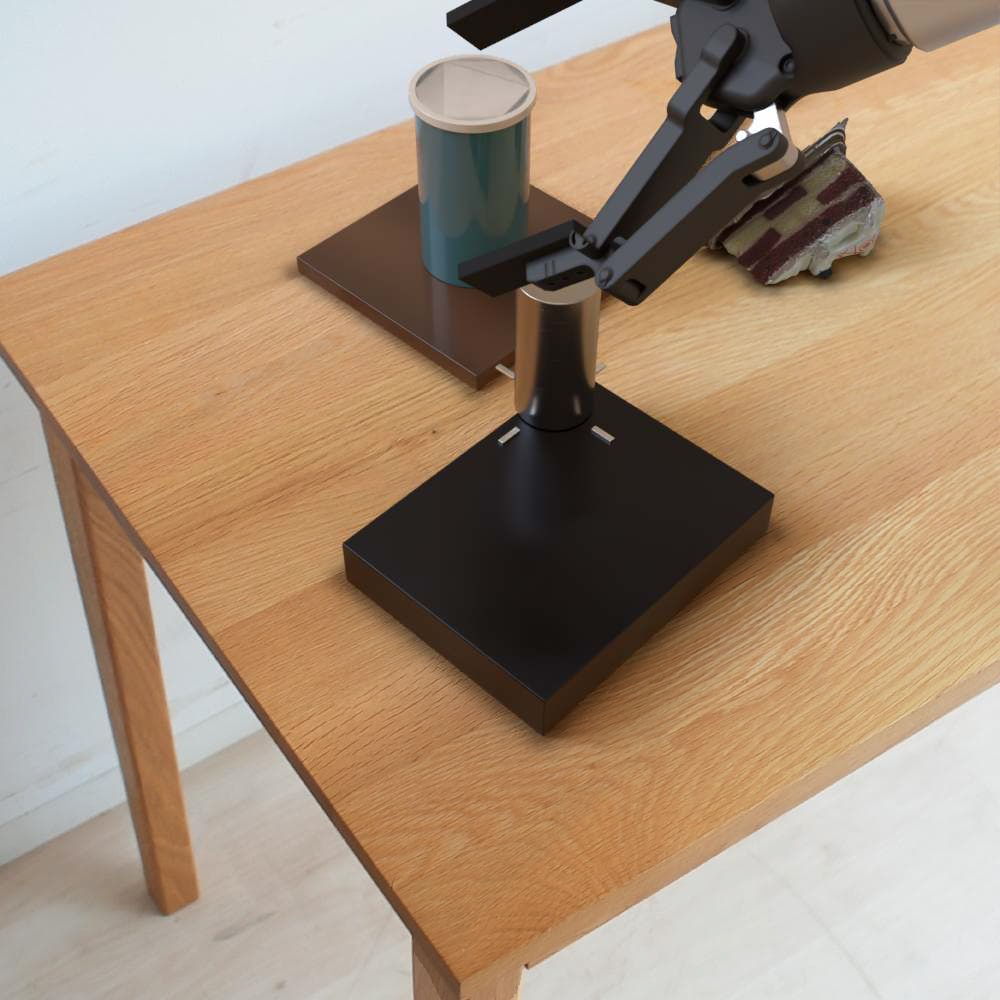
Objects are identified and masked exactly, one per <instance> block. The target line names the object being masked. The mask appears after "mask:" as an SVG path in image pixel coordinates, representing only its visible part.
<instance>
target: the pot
mask: <svg viewBox="0 0 1000 1000" xmlns="http://www.w3.org/2000/svg"><path fill="white" fill-rule="evenodd" d="M407 93H408V94H407V95H408V103H409V106H410V108H411V110H412V111H413V113H414V129H415V130H414V131H415V148H416V149H415V151H416V170H417V171H416V172H417V184H418V194H419V215H420V236H421V255H422V261H423V263H424V265H425V267H426V268H427V270H428V271H429V272H430V273H431V274H432V275H433V276H435V277H436V278H437V279H439V280H441V281H443V282H445V283H448V284H451V285H454V286H459V287H466V288H474V287H472V286H470V285H468V284H466V283H464V282H462V281H460V280H458V268H457V264H460V263H462V262H465V261H468V260H470V259H473V258H475V257H478V256H480V255H483V254H485V253H488V252H491V251H493V250H496V249H498V248H501V247H503V246H506V245H508V244H511V243H514V242H516V241H519V240H521V239H524V238H526V237H529V193H530V184H531V143H532V142H531V141H532V140H531V137H532V111H534V108H535V106H536V104H537V99H538V98H537V97H538V87H537V82H536V81H535V78H534V77H533V75H532V74H531V73H530V72H529V71H528V70H527V69H525V67H523V66H522V65H520V64H518V63H517V62H514V61H512V60H509V59H507V58H503V57H499V56H495V55H490V54H482V53H480V54H479V53H470V54H469V53H468V54H467V53H465V54H457V55H451V56H447V57H443V58H440V59H437V60H434V61H432V62H430V63H428V64H425V65H424V66H423V67H422V68H420V69H419V70H418V71H416V73H415V74H414V75H413V77H412V78H411V79H410V81H409V84H408V88H407Z"/></svg>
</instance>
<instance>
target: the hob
mask: <svg viewBox="0 0 1000 1000" xmlns="http://www.w3.org/2000/svg"><path fill="white" fill-rule="evenodd" d="M607 366H608V365H607V364H606V363H604V361H601V362H600V363H599V364H598V365H597V364H596V374H595V376H596V375H598V374H599V373H601V372H602V371H603V370H605V369H606V368H607ZM496 369H497V370H499V371H500V372H502V373H501V374H503V375H505V376H506V377H508V378H509V379H511V380H513V381H514V377H515V371H513V370H511V369H509V368H506V367H504V366H503V365H501V364H499V365H497V366H496ZM775 498H776V494H775V493H773V492H772V491H770V490H769V489H767V488H765V487H764V486H762V485H761V484H759V483H758V482H756V481H754V480H753V479H752V478H750V477H748V476H747V475H745V474H743V473H741V472H740V471H739V470H737V469H736V468H735V467H732V466H730V465H729V464H728V463H726V462H724V461H723V460H721V459H719V458H718V457H716V456H715V455H713V454H712V453H710V452H708V451H707V450H705V449H704V448H702V447H700V446H699V445H697V444H695V443H694V442H693V441H691V440H689V439H688V438H686V437H684V436H683V435H681V434H680V433H678V432H677V431H675V430H673V429H672V428H670V427H669V426H667V425H665V423H662V422H661V421H659V420H658V419H656V418H655V417H653V416H651V415H650V414H648V413H647V412H646V411H643V410H642V409H640V408H639V407H637V406H636V405H634V404H633V403H631V402H629V401H627V400H626V399H624V398H622V397H621V396H620V395H618V394H617V393H615V392H613V391H611V390H610V389H609V388H607V387H605V386H603V385H602V384H600V383H599V382H597V381H596V380H595V389H594V403H593V409H592V412H591V413H590V415H589V416H588V418H587V419H586V420H585V421H583V422H582V423H581V424H579V425H577V426H575V427H572V428H569V429H565V430H545V429H540V428H537V427H535V426H532V425H530V424H529V423H527V422H526V421H524V420H523V419H522V418H521V417H520V416H519V414H518V413H517V412H516V413H515V414H514V415H512V416H511V417H510V418H509V419H507V420H506V421H505V422H503V423H502V424H501V425H498V426H497V428H495V429H494V430H492V431H491V432H489V433H488V434H487V435H486V436H484V437H482V438H481V439H480V440H478V442H476V443H475V444H474V445H472V446H471V447H469V448H467V450H465V451H464V452H462V453H461V454H460V455H459V456H457V457H456V458H455V459H453V460H452V461H451V462H449V463H448V464H447V465H445V466H444V467H443V468H441V469H439V471H437V472H436V473H435V474H433V475H431V476H430V477H429V478H427V480H425V481H424V482H422V483H421V484H419V486H417V487H416V488H414V489H413V490H412V491H410V492H409V493H408V494H406V495H405V496H403V497H402V498H401V499H399V500H398V501H397V502H396V503H394V504H393V505H392V506H390V507H389V508H387V509H386V510H385V511H383V512H382V513H380V514H379V515H378V516H377V517H375V518H374V519H373V520H371V521H369V522H368V524H365V526H363V527H361V528H360V529H359V530H358V531H357V532H355V533H354V534H353V535H351V536H350V537H349V538H347V539H346V540H345V541H343V542H342V544H341V546H342V556H343V561H344V562H343V563H344V571H345V580H346V581H347V582H348V583H350V584H351V585H352V586H353V587H354V588H355V589H357V590H358V591H360V592H361V593H362V594H364V595H365V596H366V597H367V598H368V599H370V600H371V601H372V602H374V603H375V604H376V605H377V606H379V607H380V608H381V609H382V610H384V611H385V612H386V613H387V614H388V615H390V616H391V617H392V618H394V620H396V621H398V622H399V623H400V624H401V625H403V626H404V627H405V628H406V629H407V630H409V631H410V632H412V633H413V634H414V635H415V636H416V637H418V639H420V640H421V641H422V642H424V643H425V644H426V645H428V646H429V647H430V648H431V649H432V650H434V652H436V653H438V654H439V655H440V656H442V657H443V658H444V659H445V660H446V661H447V662H449V663H450V664H452V666H454V667H455V668H456V669H458V670H459V671H460V672H462V673H463V674H464V675H465V676H466V677H467V678H469V679H470V680H471V681H472V682H474V683H475V684H476V685H477V686H479V687H480V688H482V689H483V690H484V691H485V692H487V694H489V695H490V696H492V697H493V698H494V699H495V700H497V701H498V702H499V703H500V704H502V705H503V706H504V707H505V708H507V709H508V710H509V711H510V712H511V713H513V714H514V715H515V716H517V717H518V718H519V719H521V720H522V721H523V722H524V723H525V724H527V725H528V726H529V727H531V728H532V729H533V730H534V731H535V732H537V733H538V734H539V735H541V736H542V737H544V736H546V734H547V733H548V732H550V731H551V730H552V729H553V728H554V727H555V726H556V725H557V724H559V723H560V722H561V721H562V720H563V719H564V718H565V717H566V716H567V715H568V714H570V712H571V711H573V710H574V709H575V708H576V707H577V706H578V705H579V704H580V703H581V702H583V701H584V699H586V698H587V697H588V696H589V695H590V694H591V693H593V691H595V690H596V689H597V688H598V687H599V686H600V685H602V683H603V682H604V681H605V680H607V679H608V678H609V677H610V676H611V675H612V674H613V673H615V671H617V670H618V669H619V668H620V667H621V666H622V665H623V664H624V663H625V662H626V661H627V660H628V659H630V658H631V657H632V656H633V655H634V654H635V653H636V652H637V651H638V650H639V649H640V648H641V647H643V646H644V645H645V644H646V643H647V642H648V641H649V640H650V639H651V638H652V637H654V636H655V635H656V634H657V633H658V632H659V631H660V630H661V629H662V628H664V626H665V625H667V624H668V623H669V622H670V621H671V620H673V618H674V617H675V616H676V615H678V614H679V613H680V612H681V611H682V610H683V609H684V608H686V607H687V605H688V604H690V602H691V601H693V600H694V599H695V598H696V597H697V596H699V594H701V592H703V591H704V590H705V589H706V588H707V587H708V586H709V585H710V584H711V583H713V582H714V580H716V579H717V578H718V577H719V576H721V574H723V572H724V571H726V569H728V568H729V567H730V566H731V565H732V564H734V563H735V562H736V561H737V559H739V558H740V557H741V556H742V555H743V554H744V553H745V552H746V551H748V549H750V548H751V547H752V546H753V545H754V544H755V543H756V542H757V541H759V540H760V538H762V537H763V536H764V535H765V534H766V533H767V532H768V530H769V525H770V520H771V516H772V512H773V507H774V501H775Z"/></svg>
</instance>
